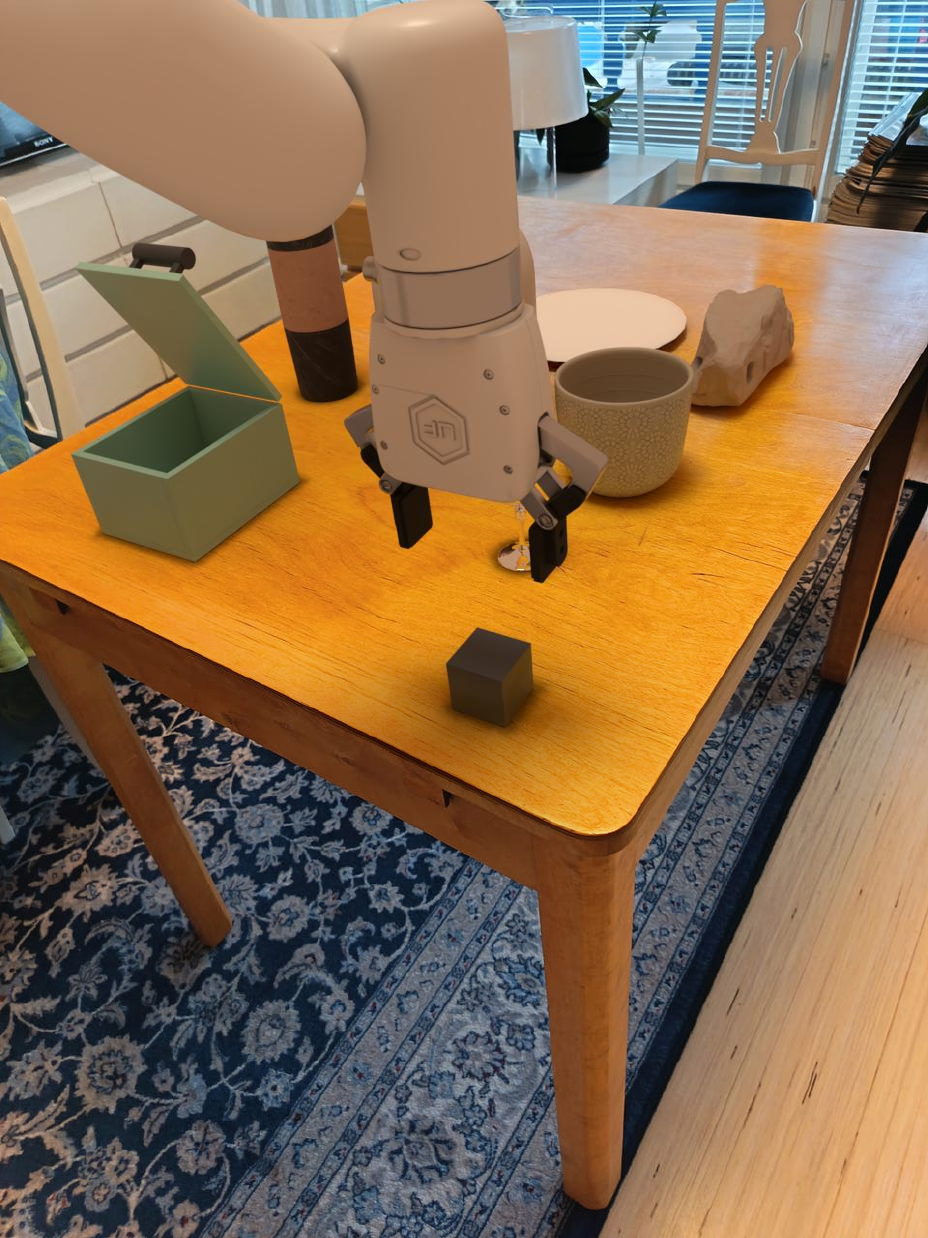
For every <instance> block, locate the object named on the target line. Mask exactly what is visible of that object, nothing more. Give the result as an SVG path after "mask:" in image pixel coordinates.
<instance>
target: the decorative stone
mask: <svg viewBox="0 0 928 1238" xmlns="http://www.w3.org/2000/svg"><path fill="white" fill-rule="evenodd" d="M783 292H784V289H783V287H777V286H776V285H775V284H764V285H762V286H760V287H757V288H755V289H753V290H747V291H746V292H740V293H739V292H737V291H736V290H733V289H729V288H727V289H724V290H721V291H719V292H718V293H717V294H716V295H715V296H714V298H713V300H712V302H710V303H709V305H708V307H707V309H706V312H705V315H704V320H703V324H702V330H701V334H700V338H699V342H698V345H697V349H696V353H695V355H694V357H693V360H692V361H691V363H690V366H691V367H692V369H693V372H694V381H693V392H692V401H691V405H692V404H693V405H697V406H710V407H720V406H721V407H722V406H728V407H739V406H741V405H743V403H745V402H746V401H747V400H748V398H750V396H751V395H752V394H753V393H754V392H755V391H756V390H757V388H758V387H759V385H760V383H761V382H762V381H763V380H764V379H765V378H766V376H767V375H768V374H769V372H770V371H772V370H773V369H774V368H775V367H778V366H779V365H781V364H782V363H783V362H784V361H785V360H786V359H787V358H788V357H789V356H790V354H791V353H792V350H793V348H794V347H793V346H794V344H795V323H794V319H793V316H792V315H793V314H792V312H791V311H790V309H789V308H788V306H787V303H786V297H785V295H784V293H783Z"/></svg>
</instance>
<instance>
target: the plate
mask: <svg viewBox="0 0 928 1238" xmlns="http://www.w3.org/2000/svg"><path fill="white" fill-rule="evenodd" d="M536 309H537V320H538V324H539V327H540V331H541V335H542V339H543V343H544V348H545V353H546V358H547V363H551V364H558V365H559V364H561V365H562V364H564V363H565V362H567V361H568V360H570V359H572V358H574V357H576V356H579V355H581V354H584V353H587V352H591V351H595V350H600V349H607V348H616V347H641V348H650V349H656V350H660V349H662V348H663V347H665V346H667V345H669V344H672V343H673V342H674V341H676V340H677V339H678V338H679V337H680V335H681V334H683V333H684V331H685V330H686V327H687V321H688V318H687V317H686V314H685V312H684V311H683V309H682V308H681V307H679V306H678V305H676V304H675V303H674V302H673V301H671V300H669V299H667V298H665V297H662V296H659V295H657V294H653V293H648V292H645V291H644V292H643V291H639V290H634V289H625V288H624V289H623V288H615V287H613V288H612V287H608V288H607V287H603V288H601V287H592V288H591V287H588V288H578V289H567V290H561V291H556V292H550V293H545V294H541V295H538V296H536Z"/></svg>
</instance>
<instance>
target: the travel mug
mask: <svg viewBox="0 0 928 1238" xmlns="http://www.w3.org/2000/svg"><path fill="white" fill-rule="evenodd" d="M265 244H266V248H267V249H266V250H267V253H268V258H269V259H268V260H269V263H270V268H271V273H272V277H273V283H274V287H275V292H276V296H277V301H278V306H279V311H280V316H281V321H282V325H283V328H284V329H283V330H284V334H285V337H286V341H287V345H288V346H287V347H288V350H289V353H290V358H291V361H292V365H293V369H294V374H295V377H296V381H297V385H298V388H299V392H300V395H301V397H302V398H303V399H305V400H307V401H310V402H315V403H316V402H317V403H325V402H332V401H338V400H341V399H344V398H346V397H348V396H351V395H352V394H354V393H355V392H356V391H357V389H358V387H359V381H358V373H357V367H356V359H355V353H354V345H353V338H352V332H351V331H352V330H351V323H350V316H349V311H348V305H347V300H346V295H345V288H344V283H343V279H342V273H341V268H340V267H341V266H340V262H339V256H338V249H337V246H336V239H335V235H334V229H333V224H331V225H330V226H328V227H327V228H325V229H324V230H322V231H321V232H319V233H317V234H314V235H312V236H309V237H307V238H304V239H299V240H293V241H287V242H277V241H265Z"/></svg>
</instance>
